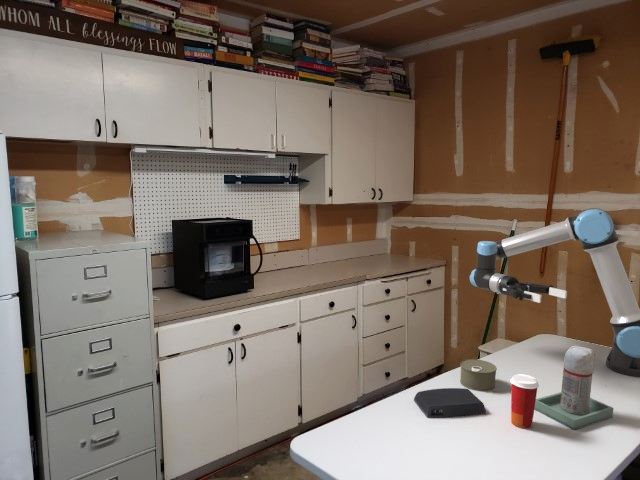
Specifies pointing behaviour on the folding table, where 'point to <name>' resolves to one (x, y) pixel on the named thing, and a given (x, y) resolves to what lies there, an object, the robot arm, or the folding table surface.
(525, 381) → the paper cup
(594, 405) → the tray
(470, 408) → the external hard drive
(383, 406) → the folding table surface
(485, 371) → the can
